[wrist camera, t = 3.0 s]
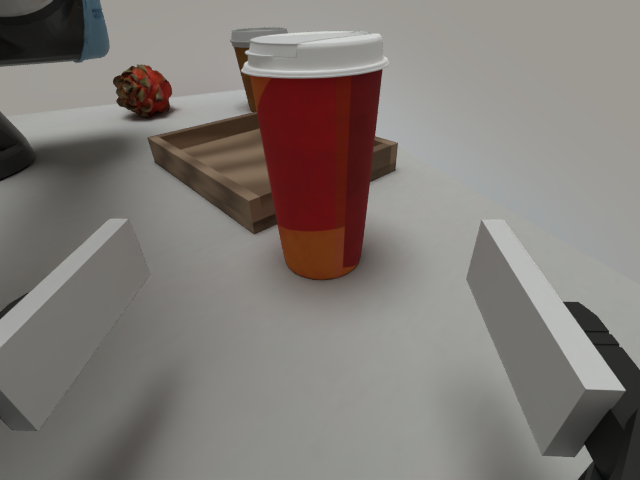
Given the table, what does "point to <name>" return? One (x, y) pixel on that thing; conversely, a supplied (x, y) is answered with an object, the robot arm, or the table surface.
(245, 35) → the disposable coffee cup
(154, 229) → the table surface
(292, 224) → the paper cup
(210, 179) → the walnut tray
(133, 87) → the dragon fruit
